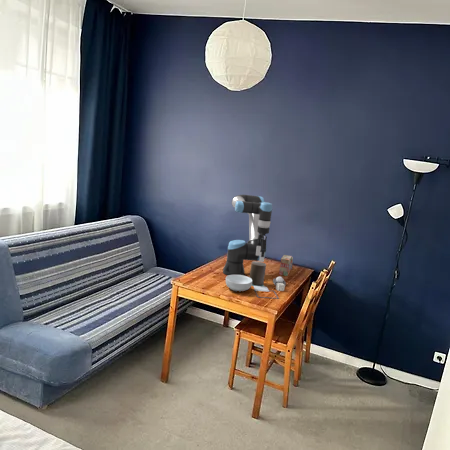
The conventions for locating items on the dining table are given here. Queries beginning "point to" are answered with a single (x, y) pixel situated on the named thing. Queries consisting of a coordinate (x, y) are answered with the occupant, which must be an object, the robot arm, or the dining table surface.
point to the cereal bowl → (238, 282)
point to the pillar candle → (257, 273)
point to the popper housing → (279, 282)
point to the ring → (267, 297)
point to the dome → (279, 279)
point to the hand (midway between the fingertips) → (259, 258)
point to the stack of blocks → (285, 265)
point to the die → (280, 286)
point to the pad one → (261, 288)
